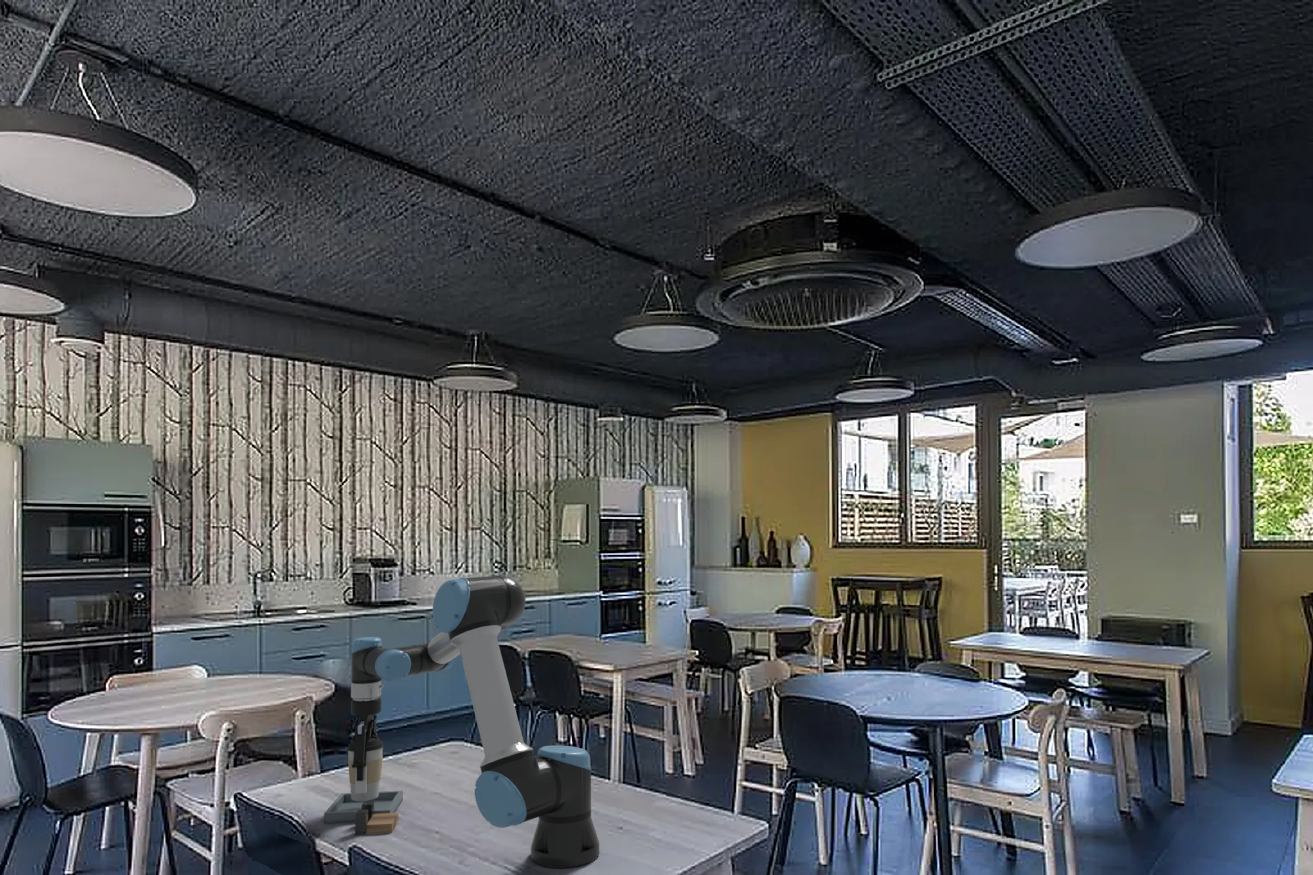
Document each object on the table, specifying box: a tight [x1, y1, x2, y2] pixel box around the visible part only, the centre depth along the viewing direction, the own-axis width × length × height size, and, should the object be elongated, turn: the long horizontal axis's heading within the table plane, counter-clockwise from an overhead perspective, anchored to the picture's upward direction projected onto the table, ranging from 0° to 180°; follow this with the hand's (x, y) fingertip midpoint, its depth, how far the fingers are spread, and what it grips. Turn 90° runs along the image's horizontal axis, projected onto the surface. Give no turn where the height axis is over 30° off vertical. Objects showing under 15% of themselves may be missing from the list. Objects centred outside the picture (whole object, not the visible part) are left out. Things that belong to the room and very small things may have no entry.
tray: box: [323, 790, 404, 825], centre depth 227 cm, size 16×16×2 cm
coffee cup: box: [347, 735, 385, 801], centre depth 228 cm, size 9×9×15 cm
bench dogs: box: [354, 802, 374, 836], centre depth 214 cm, size 8×2×5 cm, turn 5°
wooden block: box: [365, 812, 400, 835], centre depth 215 cm, size 8×6×2 cm
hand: (365, 787), depth 227 cm, fingers closed on coffee cup, 9 cm apart
